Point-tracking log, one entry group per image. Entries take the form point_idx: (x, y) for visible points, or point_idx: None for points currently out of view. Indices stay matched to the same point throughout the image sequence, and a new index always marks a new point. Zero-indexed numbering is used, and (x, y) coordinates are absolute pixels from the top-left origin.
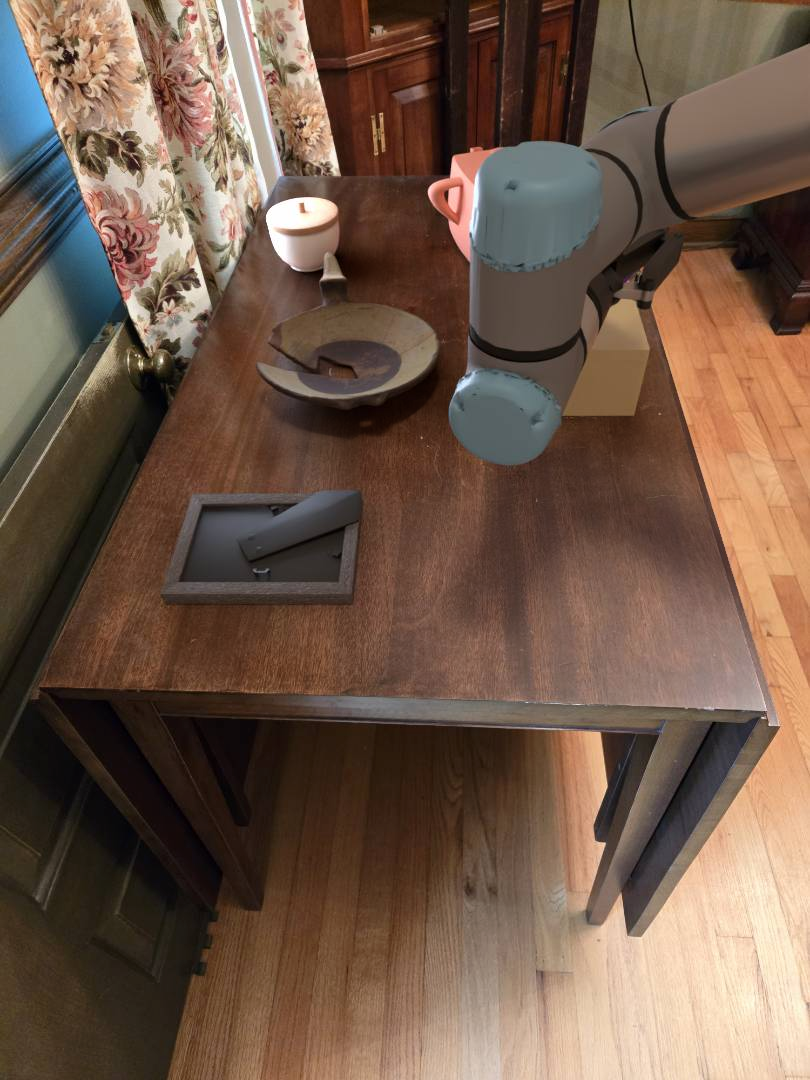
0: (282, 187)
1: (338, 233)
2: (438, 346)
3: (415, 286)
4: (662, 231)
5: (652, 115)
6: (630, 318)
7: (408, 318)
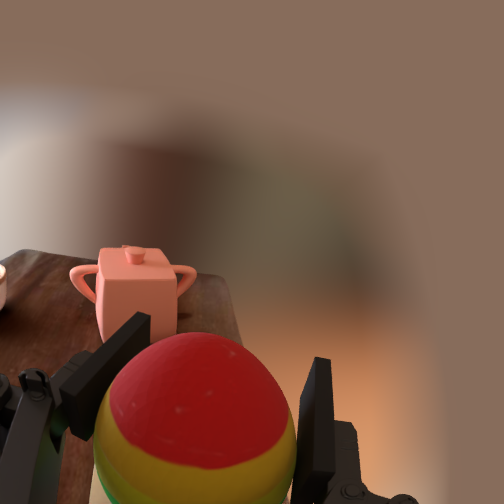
0: (13, 254)
1: (1, 294)
2: None
3: (47, 354)
4: (362, 500)
5: None
6: None
7: None
